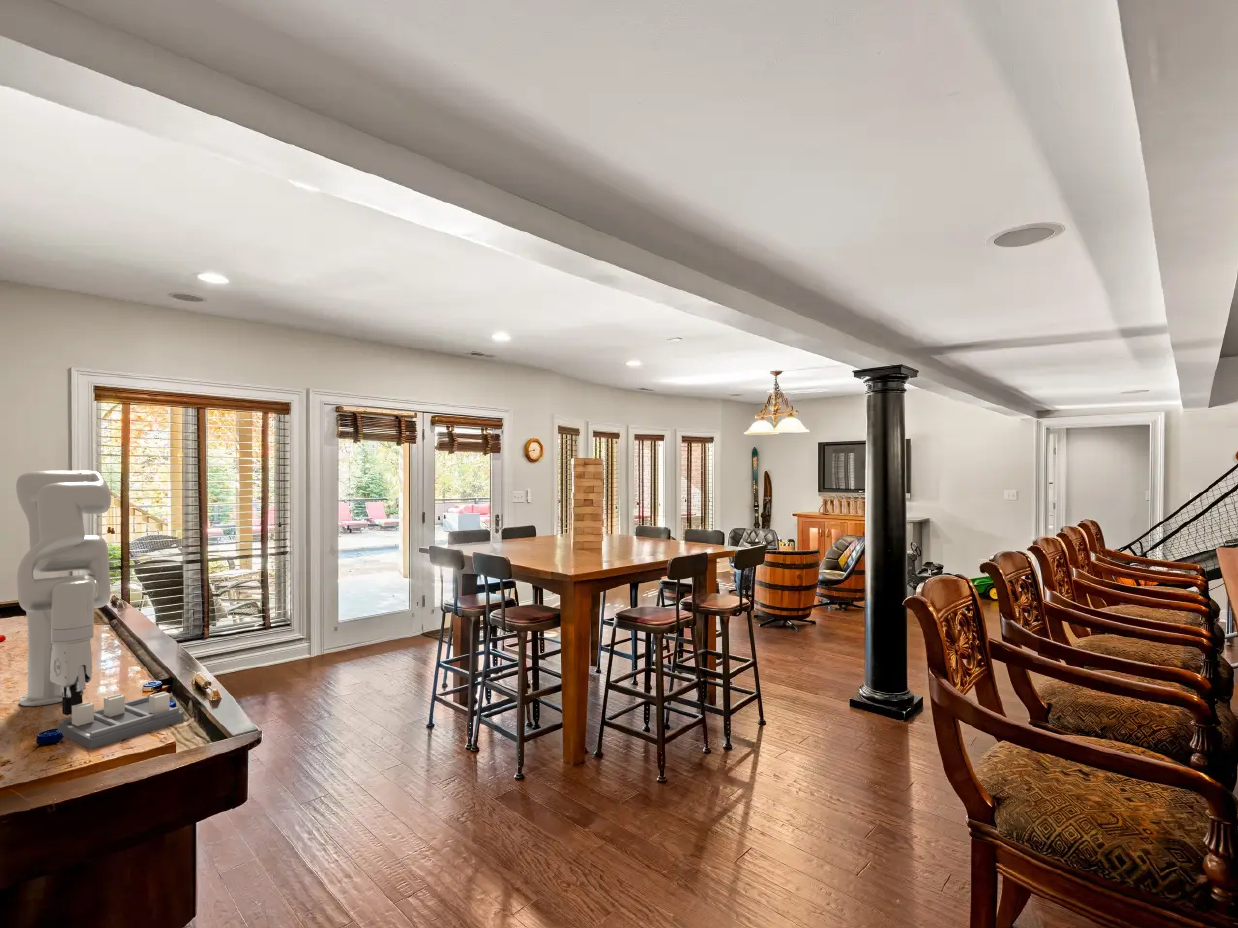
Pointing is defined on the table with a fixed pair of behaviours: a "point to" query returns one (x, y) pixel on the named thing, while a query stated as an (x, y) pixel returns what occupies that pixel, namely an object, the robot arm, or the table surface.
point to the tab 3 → (159, 702)
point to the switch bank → (119, 724)
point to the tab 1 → (82, 713)
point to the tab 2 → (114, 705)
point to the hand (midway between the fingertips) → (72, 712)
